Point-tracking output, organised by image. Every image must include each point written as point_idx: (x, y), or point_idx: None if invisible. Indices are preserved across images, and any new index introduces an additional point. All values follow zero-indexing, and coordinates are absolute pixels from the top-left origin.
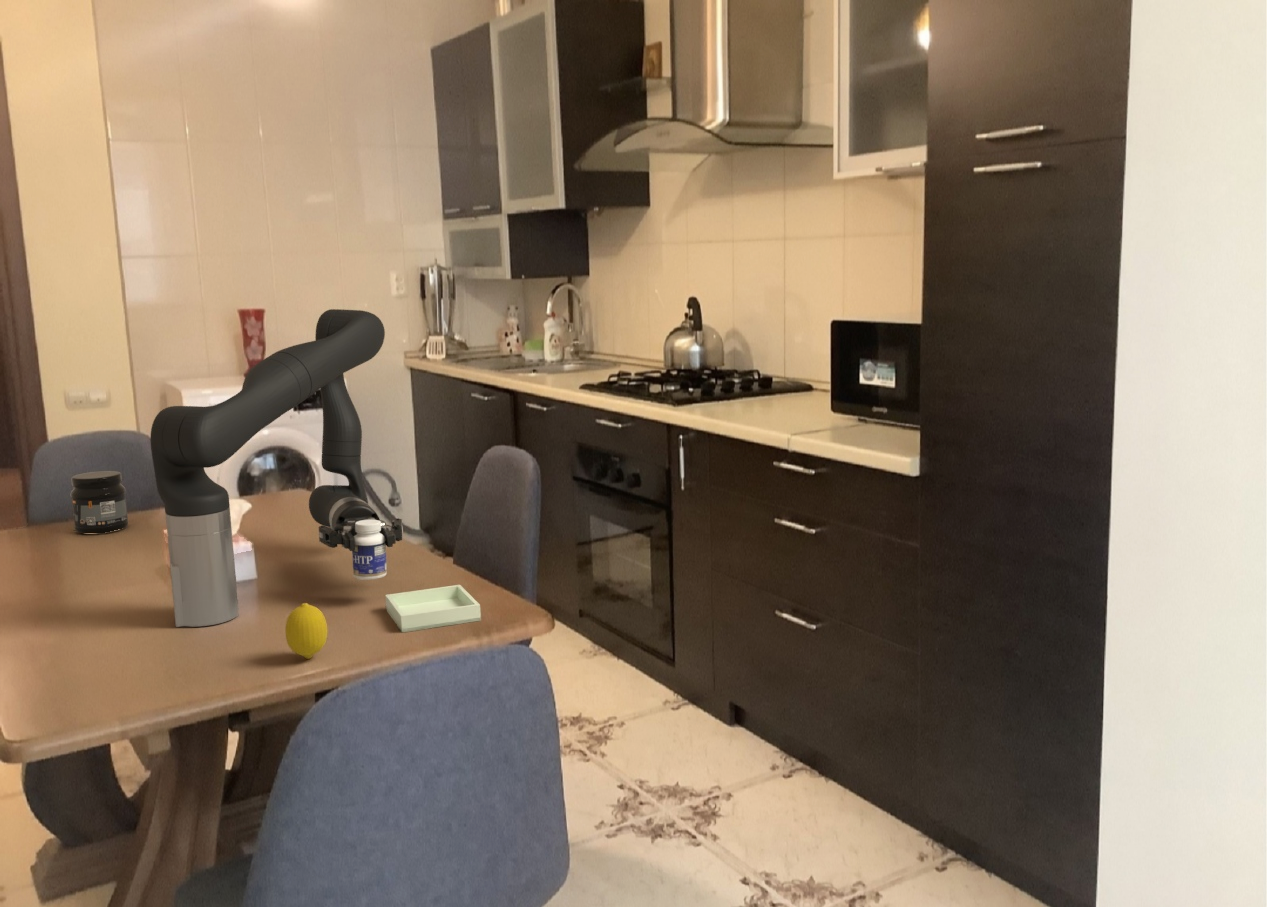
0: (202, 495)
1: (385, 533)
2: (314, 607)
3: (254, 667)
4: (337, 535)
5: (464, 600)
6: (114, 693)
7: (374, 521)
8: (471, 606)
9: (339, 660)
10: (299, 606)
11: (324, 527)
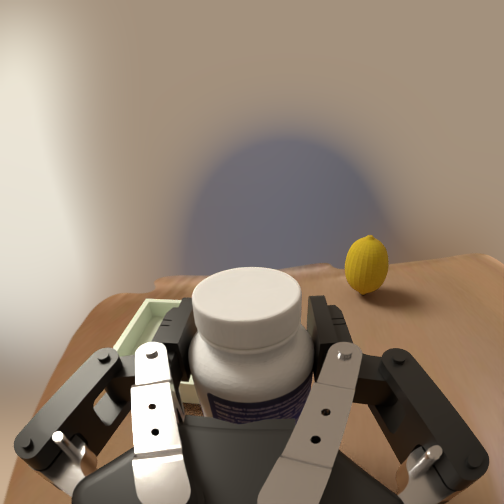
0: None
1: (189, 323)
2: (359, 240)
3: (409, 291)
4: (374, 359)
5: (129, 346)
6: (485, 279)
7: (216, 291)
8: (156, 299)
9: (330, 286)
10: (375, 239)
11: (458, 444)
